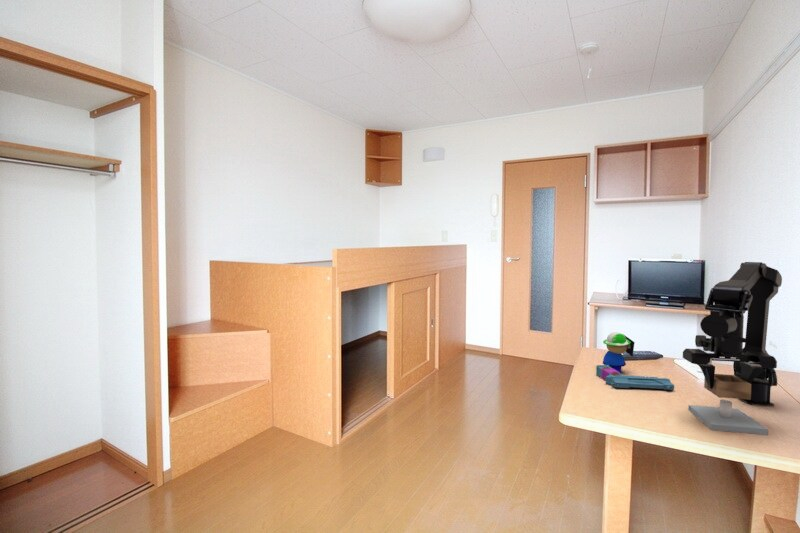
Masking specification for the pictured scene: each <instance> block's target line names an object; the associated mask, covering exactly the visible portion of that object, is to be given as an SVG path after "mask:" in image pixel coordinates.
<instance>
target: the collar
mask: <svg viewBox="0 0 800 533" xmlns="http://www.w3.org/2000/svg"><path fill="white" fill-rule="evenodd" d="M703 385H704V386H703V388H704V389H706V390H707V391H709V392H711V394H713V395H714V396H716V397H717V398H721V399H722V398H724V399H737V400H741V399H748V400H751V384H750V383H748V382H746V381H744V380H742V379H741V378H739V377H737V376H735V375H734V374H721V373H715V375H714V385H713V388H712V389H710V388H709V387H708V384H707V382H706V379H705V378H704V383H703Z"/></svg>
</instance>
